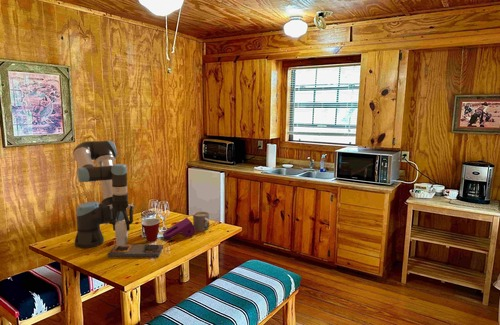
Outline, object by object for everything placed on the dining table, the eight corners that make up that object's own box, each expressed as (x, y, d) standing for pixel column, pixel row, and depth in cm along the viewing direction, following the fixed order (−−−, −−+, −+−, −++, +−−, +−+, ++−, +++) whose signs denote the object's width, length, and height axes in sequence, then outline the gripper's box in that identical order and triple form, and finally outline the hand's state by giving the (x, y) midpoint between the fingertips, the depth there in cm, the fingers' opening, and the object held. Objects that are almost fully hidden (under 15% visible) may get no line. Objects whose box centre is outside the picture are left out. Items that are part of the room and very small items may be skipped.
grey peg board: (107, 257, 178) (107, 253, 178) (115, 248, 190) (115, 244, 190) (158, 257, 180) (158, 253, 179) (163, 248, 191) (163, 244, 191)
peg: (116, 245, 181) (115, 223, 179) (119, 242, 185) (118, 220, 184) (124, 245, 181) (124, 223, 179) (127, 242, 186) (126, 220, 184)
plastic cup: (140, 238, 204) (139, 219, 202) (158, 236, 209) (157, 217, 207) (143, 245, 194) (143, 225, 193) (162, 242, 200) (162, 222, 198)
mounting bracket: (171, 249, 204) (197, 233, 210) (164, 238, 201) (191, 222, 207) (167, 243, 212) (192, 228, 219) (161, 233, 210) (186, 217, 216)
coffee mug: (191, 227, 225) (190, 212, 223) (205, 225, 230) (205, 210, 229) (198, 234, 214) (198, 218, 212) (213, 231, 219) (213, 216, 217)
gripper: (100, 195, 175) (102, 238, 179) (134, 195, 176) (136, 238, 179) (105, 191, 182) (107, 233, 186) (138, 192, 183) (140, 233, 187)
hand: (121, 236), depth 183 cm, fingers closed on peg, 4 cm apart
